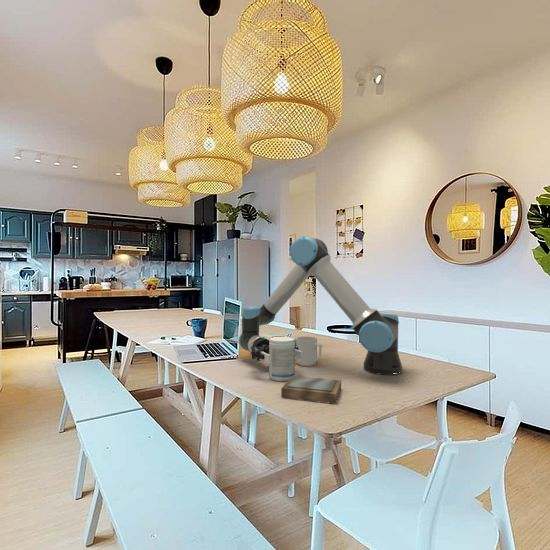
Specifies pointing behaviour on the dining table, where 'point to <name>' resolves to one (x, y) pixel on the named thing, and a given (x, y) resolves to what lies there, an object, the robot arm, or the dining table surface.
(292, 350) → the supplement tub
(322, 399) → the dock
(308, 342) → the mug
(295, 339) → the towel
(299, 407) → the dining table surface
